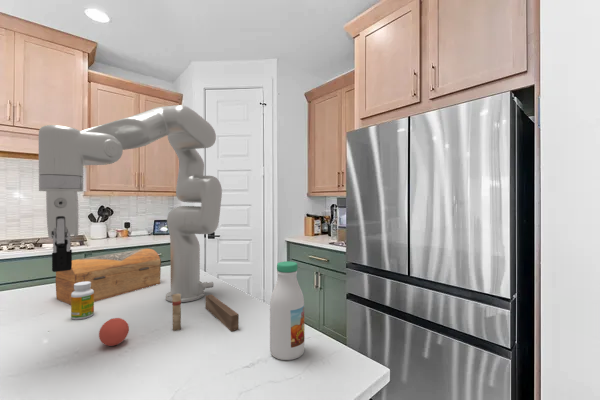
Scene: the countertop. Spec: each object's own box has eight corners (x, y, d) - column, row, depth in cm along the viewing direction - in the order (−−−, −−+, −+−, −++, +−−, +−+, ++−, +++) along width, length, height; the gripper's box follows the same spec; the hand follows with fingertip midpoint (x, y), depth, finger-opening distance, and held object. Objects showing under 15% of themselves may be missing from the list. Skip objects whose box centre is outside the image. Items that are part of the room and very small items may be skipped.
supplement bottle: (81, 320, 84) (81, 286, 83) (66, 319, 85) (65, 285, 85) (98, 313, 89) (98, 281, 89) (83, 312, 90) (83, 280, 90)
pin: (179, 326, 80) (179, 293, 80) (181, 329, 78) (181, 295, 78) (171, 328, 79) (171, 294, 79) (173, 331, 77) (173, 296, 77)
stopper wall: (211, 306, 94) (211, 294, 94) (238, 329, 78) (238, 314, 78) (205, 308, 93) (205, 295, 93) (231, 331, 77) (231, 316, 77)
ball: (127, 336, 74) (127, 312, 74) (130, 345, 69) (130, 320, 69) (98, 343, 71) (98, 317, 71) (99, 353, 66) (99, 326, 66)
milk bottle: (278, 365, 61) (278, 268, 61) (264, 348, 68) (264, 261, 68) (310, 355, 65) (310, 264, 65) (294, 340, 72) (294, 258, 72)
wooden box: (138, 278, 128) (138, 246, 128) (162, 284, 120) (161, 250, 119) (53, 298, 102) (52, 258, 102) (75, 308, 94) (74, 264, 94)
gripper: (83, 183, 60) (83, 274, 60) (83, 186, 73) (83, 261, 73) (33, 182, 56) (34, 280, 56) (42, 185, 68) (43, 265, 68)
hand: (62, 269), depth 64 cm, fingers closed
